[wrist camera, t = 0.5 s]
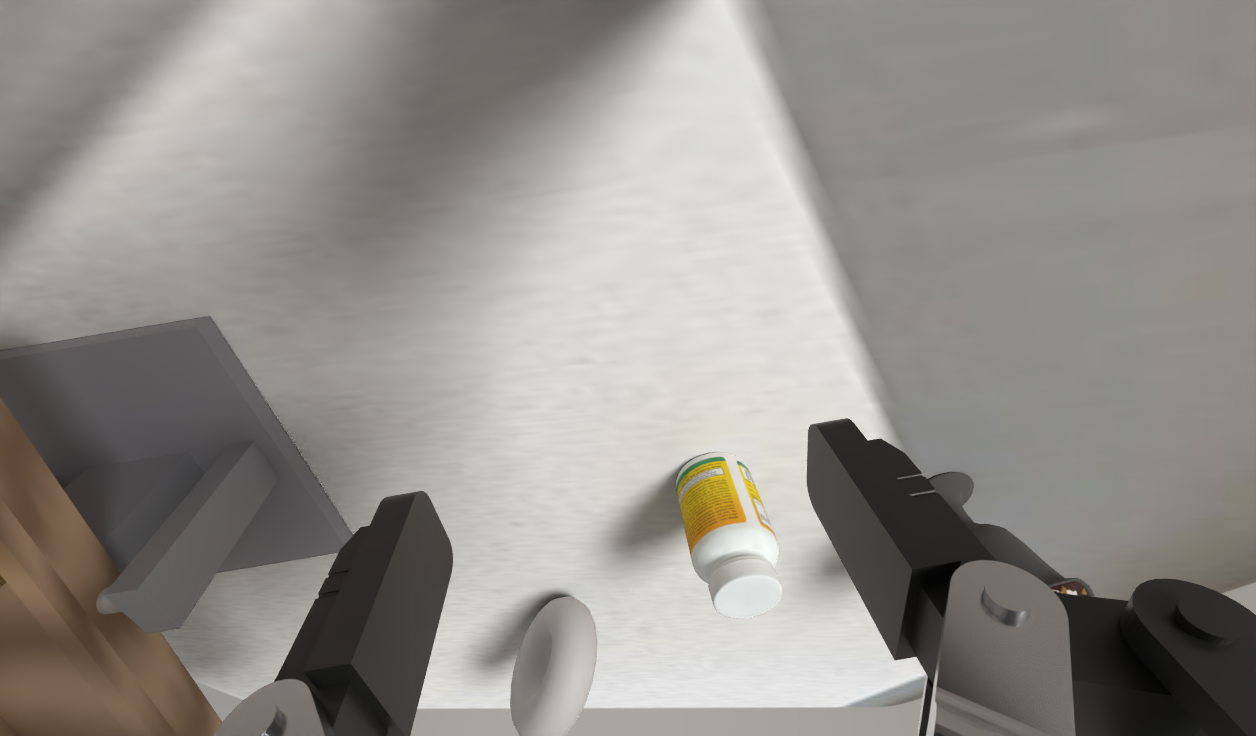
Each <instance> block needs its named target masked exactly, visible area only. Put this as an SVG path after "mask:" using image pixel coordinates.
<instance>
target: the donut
mask: <svg viewBox="0 0 1256 736" xmlns="http://www.w3.org/2000/svg"><path fill="white" fill-rule="evenodd" d="M596 657H597V634H596V626H595V623H594V620H593V618H592V615H591V613H590V611H589V609H588V608H587V607H586V605H584V604H583V603H582V602H580V601H579V600H577V599H575V598H574V597H568V596H567V597H561V598H557V599H553V600H552V601H550V602H549V603H548V604H547V605H545V606H544V607H543V608H542V609H541V610H540V611H539V613H538V614H537V615H536V617H535V618H534V620H533V621H532V623H531V624H530V626H529V628H528V630H527V632H526V634H525V636H524V639H523V641H522V644H521V647H520V649H519V652H518V656H517V659H516V663H515V667H514V671H513V677H512V683H511V699H510V707H511V713H512V721H513V723H514V726H515V728H516V729H517V731H518V733H519V735H520V736H564V735H565V734H566V733H567V732H568V731H569V729H570V728H571V727H572V726H573V725H574V723H575V722H576V721H577V719H578V717H579V715H580V713H581V711H582V709H583V707H584V705H585V703H586V700H587V697H588V694H589V691H590V688H591V684H592V681H593V675H594V670H595V665H596Z"/></svg>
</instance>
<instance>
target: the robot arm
mask: <svg viewBox="0 0 1256 736" xmlns="http://www.w3.org/2000/svg"><path fill="white" fill-rule="evenodd" d="M807 487H808V493H809V497H810V500H811V503H812V506H813V508H814V510H815V512H816V514H817V516H818V518H819V520H820V521H821V523H822V525H823V527H824V529H825V531H826V533H827V535H828V536H829V538H830V540H831V542H832V544H833V546H834V548H835V549H836V551H837V553H838V555H839V557H840V559H841V561H842V563H843V564H844V566H845V568H846V570H847V572H848V574H849V576H850V577H851V579H852V581H853V583H854V585H855V587H856V589H857V591H858V592H859V594H860V596H861V598H862V600H863V602H864V604H865V606H866V607H867V609H868V611H869V613H870V615H871V617H872V619H873V620H874V622H875V624H876V626H877V628H878V630H879V632H880V634H881V635H882V637H883V639H884V641H885V643H886V645H887V647H888V648H889V650H890V652H891V654H892V656H893V658H894V660H900V659H906V658H911V657H917V658H918V660H919V662H920V663H921V665H922V667H923V669H924V670H925V672H926V674H927V677H926V681H925V686H924V693H923V700H922V707H921V713H920V719H919V726H918V733H917V736H1256V615H1255V614H1254V613H1252V612H1251V611H1250V610H1248V609H1247V608H1245V607H1244V606H1242V605H1241V604H1239V603H1238V602H1236V601H1234V600H1232V599H1230V598H1229V597H1227V596H1225V595H1223V594H1221V593H1218V592H1216V591H1214V590H1212V589H1209V588H1206V587H1204V586H1201V585H1198V584H1194V583H1190V582H1186V581H1181V580H1175V579H1154V580H1149V581H1146V582H1144V583H1141V584H1140V585H1139V586H1138V587H1137V588H1136V589H1135V591H1134V592H1133V594H1132V596H1131V598H1130V600H1129V601H1123V600H1115V599H1106V598H1098V597H1089V596H1080V595H1072V594H1065V593H1059V592H1055V591H1053V590H1052V589H1051V588H1049V587H1048V586H1047V585H1046V584H1045V583H1044V582H1042V581H1041V580H1040V579H1038V578H1037V577H1035V576H1034V575H1032V574H1030V573H1029V572H1027V571H1025V570H1023V569H1020V568H1018V567H1016V566H1013V565H1010V564H1007V563H1003V562H998V561H997V560H996V559H995V558H994V557H993V556H992V555H991V554H990V553H989V551H988V550H987V549H986V548H985V547H984V546H983V544H982V543H981V542H980V541H979V540H978V538H977V537H976V536H975V535H974V534H973V533H972V531H971V530H970V529H969V528H968V527H967V526H966V524H965V523H964V522H963V521H962V520H961V519H960V517H959V516H958V515H957V514H956V513H955V511H954V510H953V509H952V508H951V507H950V506H949V504H948V503H947V502H946V501H945V500H944V499H943V497H942V496H941V495H940V494H939V493H936V491H935V488H934V487H933V486H932V484H931V483H930V482H929V481H928V480H927V479H926V477H923V476H922V473H921V471H920V470H919V469H918V468H917V467H916V466H915V464H914V463H913V462H912V461H911V460H910V459H909V457H908V456H907V455H906V454H905V453H904V452H902V451H900V450H899V449H897V448H895V447H894V446H892V445H891V444H889V443H887V442H886V441H884V440H882V439H875V440H869V441H867V439H866V438H865V437H864V436H863V434H862V433H861V432H860V430H859V429H858V428H857V427H856V425H855V424H854V423H853V422H852V421H851V420H850V419H848V418H846V419H840V420H834V421H829V422H823V423H817V424H812V425H810V427H809V430H808V454H807ZM452 566H453V553H452V547H451V543H450V540H449V538H448V536H447V534H446V532H445V530H444V527H443V525H442V523H441V521H440V519H439V517H438V515H437V513H436V511H435V509H434V506H433V504H432V502H431V500H430V498H429V496H428V495H427V494H426V493H425V492H423V491H419V492H413V493H407V494H401V495H396V496H390V497H386V498H384V499H383V500H382V501H381V503H380V505H379V507H378V509H377V511H376V513H375V515H374V518H373V520H372V522H371V524H370V526H366V527H360V529H359V530H358V531H357V532H356V533H355V534H354V535H353V536H352V537H351V538H350V540H349V541H348V542H347V543H346V544H345V545H344V546H343V547H342V548H341V549H340V551H339V553H338V555H337V557H336V559H335V561H334V563H333V565H332V567H331V569H330V571H329V573H328V574H329V578H326V579H325V581H324V583H323V585H322V587H321V589H320V591H319V593H318V594H319V598H318V599H315V601H314V603H313V605H312V607H311V609H310V611H309V613H308V615H307V617H306V619H305V621H304V623H303V625H302V627H301V629H300V631H299V634H298V636H297V638H296V640H295V642H294V644H293V646H292V648H291V650H290V652H289V654H288V656H287V658H286V660H285V662H284V664H283V666H282V668H281V670H280V672H279V674H278V676H277V677H276V679H275V681H274V683H271V684H268V685H266V686H264V687H262V688H261V689H259V690H257V691H256V692H254V693H253V694H251V695H250V696H249V697H247V698H246V699H245V700H243V701H242V702H241V703H240V704H239V705H238V706H237V707H236V708H235V709H234V710H233V711H232V712H231V713H230V714H229V715H228V716H227V717H226V719H225V720H224V721H223V722H222V724H221V725H220V726H219V728H218V729H217V731H216V733H215V734H214V736H410V734H411V730H412V726H413V722H414V718H415V714H416V710H417V706H418V702H419V699H420V695H421V691H422V687H423V683H424V679H425V675H426V671H427V667H428V663H429V659H430V655H431V651H432V647H433V643H434V639H435V636H436V632H437V628H438V624H439V620H440V616H441V612H442V608H443V604H444V600H445V596H446V592H447V588H448V584H449V580H450V577H451V572H452Z"/></svg>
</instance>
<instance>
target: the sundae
mask: <svg viewBox="0 0 1256 736" xmlns="http://www.w3.org/2000/svg"><path fill="white" fill-rule="evenodd" d="M928 481H929V482H930V483H931V484H932V486H933V487H934V488H935V491H936V493H939V494H940V495H941V496H942V497H943V499H944V500H945V501H946V502H947V503H948V504H949V506H950V507H951V508H952V509H953V510H954V511H955V513H956V514H957V515H958V516H959V517H960V519H961V520H962V521H963V522H964V523H965V524H966V526H967V527H968V528H969V529H970V530H971V531H972V533H973V534H974V535H975V536H976V537H977V538H978V540H979V541H980V542H981V543H982V544H983V546H984V547H985V548H986V549H987V550H988V551H989V553H990V554H991V555H992V556H993V557H994V558H995V559H996V560H997V561H998V562H1003V563H1007V564H1010V565H1013V566H1016V567H1018V568H1020V569H1023V570H1025V571H1027V572H1029V573H1030V574H1032V575H1034V576H1035V577H1037V578H1038V579H1040V580H1041V581H1042V582H1044V583H1045V584H1046V585H1047V586H1048V587H1049V588H1051V589H1052V590H1053V591H1055V592H1059V593H1065V594H1072V595H1080V596H1089V597H1095V596H1094V594H1093V591H1092V589H1091V588H1090V586H1089V585H1088V584H1086V583H1085V582H1084V581H1083V580H1081V579H1078V578H1064V577H1063V576H1061V575H1060V574H1059V573H1058V572H1056V571H1055V570H1054V569H1052V568H1051V567H1050V566H1049V565H1048V564H1047V563H1045V562H1044V561H1043V560H1042V559H1041V558H1040V557H1039V556H1038V555H1037V554H1035V553H1034V552H1033V551H1032V550H1031V549H1030V548H1029V547H1028V546H1027V545H1025V544H1024V543H1023V542H1022V541H1021V540H1019V539H1018V538H1017V537H1015V536H1014V535H1013V534H1011V533H1010V532H1009V531H1008V530H1006V529H1005V528H1002V527H999V526H994V525H990V524H977V523H974V522H973V521H972V519H971V518H970V517H969V516H968V515H967V514H966V512H965V511H964V509H963V507H962V505H964V504H965V503H966V502H967V501H968V499H969V498H970V496H971V494H972V492H973V481H972V479H971V478H970V477H969V476H968V475H966V474H963V473H958V472H948V473H944V474H940V475H937V476H935V477H933V478H931V479H929V480H928Z"/></svg>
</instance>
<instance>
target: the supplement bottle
mask: <svg viewBox="0 0 1256 736" xmlns="http://www.w3.org/2000/svg"><path fill="white" fill-rule="evenodd" d="M676 490H677V496H678V500H679V505H680V509H681V514H682V518H683V523H684V527H685V532H686V537H687V542H688V546H689V550H690V555H691V559H692V564H693V567H694V569H695V571H696V573H697V574H698V576H699V577H700V578H701V579H702V580H703V581H705V582H706V583H708V584H709V586H708V587H709V591H710V594H711V598H712V601H713V605H714V607H715V609H716V610H717V611H718V612H719V613H720V614H721V615H724V616H726V617H729V618H736V619H742V618H750V617H754V616H758V615H760V614H763V613H765V612H767V611H768V610H770V609H771V608H772V607H774V606H775V605H776V604H777V603H778V602H779V600H780V598H781V596H782V586H781V583H780V580H779V578H778V575H777V571H776V569H775V565H776V563H777V560H778V556H779V547H778V543H777V539H776V537H775V534H774V531H773V529H772V527H771V524H770V522H769V519H768V516H767V514H766V511H765V509H764V506H763V504H762V501H761V499H760V496H759V494H758V491H757V489H756V486H755V484H754V481H753V479H752V476H751V474H750V472H749V469H748V467H747V466H746V464H745V463H744V462H743V461H742V460H741V459H740V458H738V457H736V456H734V455H732V454H728V453H723V452H714V453H708V454H705V455H701V456H698V457H696V458H694V459H692V460H691V461H689V462H688V463H687V464H686V465H685V466H684V467H683V468H682V469H681V471H680V472H679V474H678V477H677V479H676Z"/></svg>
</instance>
